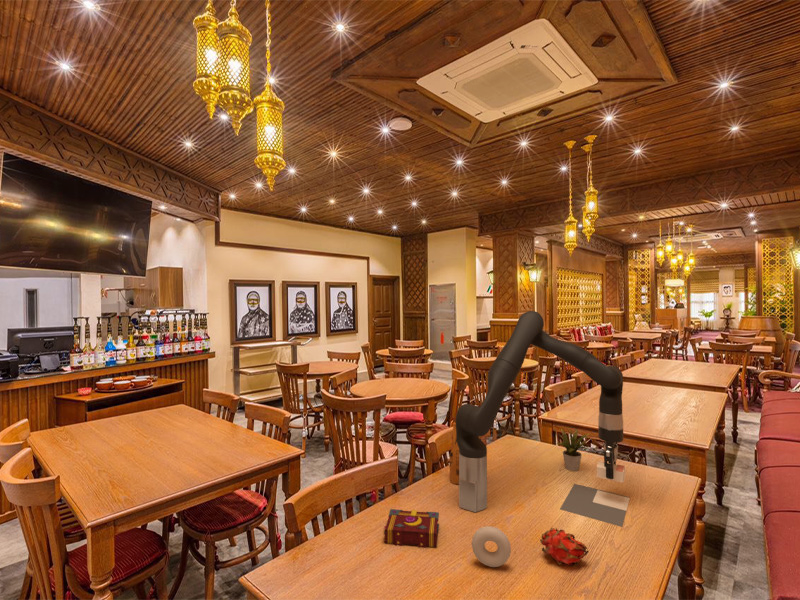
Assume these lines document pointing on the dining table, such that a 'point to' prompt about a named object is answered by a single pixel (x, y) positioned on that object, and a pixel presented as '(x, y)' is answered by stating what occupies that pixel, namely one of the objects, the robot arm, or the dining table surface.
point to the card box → (617, 472)
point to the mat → (596, 504)
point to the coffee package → (454, 458)
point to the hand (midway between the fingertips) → (610, 474)
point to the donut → (486, 556)
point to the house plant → (572, 450)
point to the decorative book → (412, 528)
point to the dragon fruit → (563, 547)
